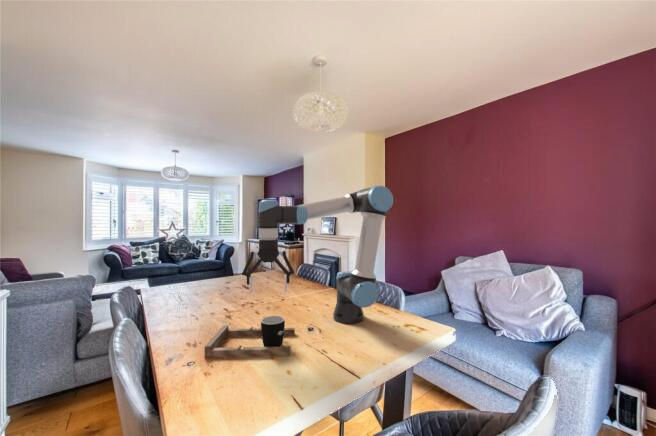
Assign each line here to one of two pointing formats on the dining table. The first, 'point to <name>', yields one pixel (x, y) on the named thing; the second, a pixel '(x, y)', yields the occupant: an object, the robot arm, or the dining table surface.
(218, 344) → the frame
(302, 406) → the dining table surface
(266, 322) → the mug
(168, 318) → the dining table surface
